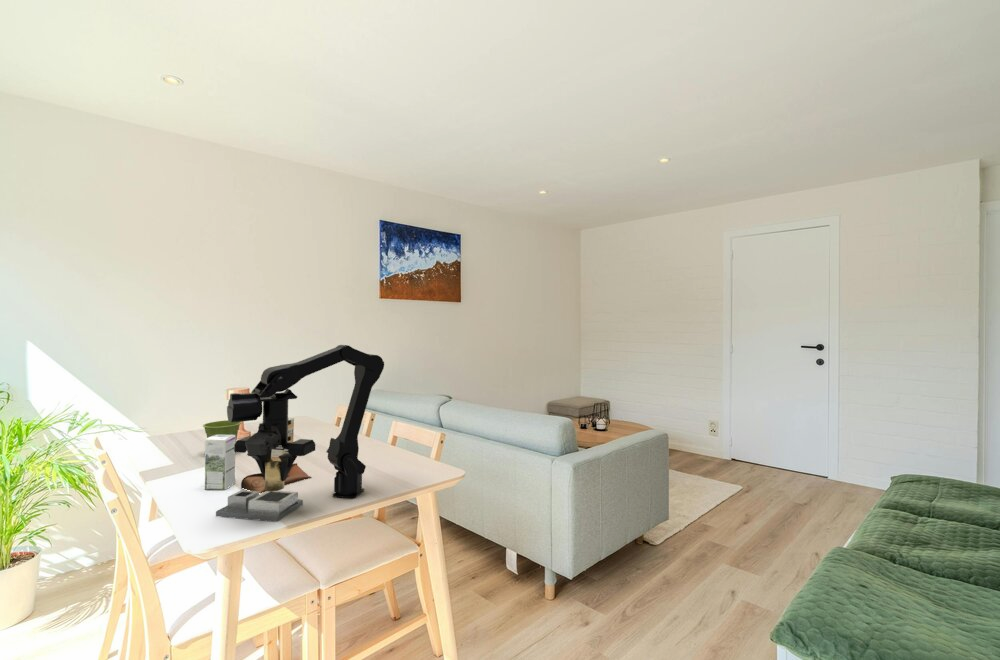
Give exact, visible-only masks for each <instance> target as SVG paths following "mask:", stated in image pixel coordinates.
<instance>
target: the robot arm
mask: <svg viewBox="0 0 1000 660" xmlns="http://www.w3.org/2000/svg"><path fill="white" fill-rule="evenodd" d="M341 362H346V363H347V364H349V365H352V366H354V372H353V374H354V375H353V376H354V387H353V390H352V393H351V397H350V400H349V403H348V405H347V406H348V407H347V411H346V414H345V417H344V420H343V423H342V427H341V430H340V433H339V434H338V436H337V437H336V438H333V437H330V440H329V447H328V448H327V449H326V453H327V460H328V461H329V463H330V464H331V465H333V467H334V469H335V470H336V473H335V477H334V479H333V482H334V483H333V492H334V493H333V494H332V497H334V498H344V499H345V498H347V499H355V498H357V497H358V496H359V495H360V493H361V492H362V493H363V492H364V491H365V488H363V475H364V473H365V470H366V468H367V466H366V465H365V463H363V462H362V461H361V460H360V459H359V457H358V456H359V449H360V448H359V433H360V430H361V427H362V422H363V419H364V416H365V413H366V409H367V406H368V403H369V399H370V395H371V392H372V389H373V387H374V386H375V384H376V383H377V382H378V380H379V379H380V377H381V375H382V373H383V371H384V367H385V361H384V360H383V358H382V357H381V356H380V355H378V354H370V353H366V352H364V351H360V350H358V349H356V348H353V347H352V346H350V345H348V344H347V345H346V344H339V345H337V346H335V347H333V348H330V349H328V350H326V351H324V352H323V351H322V352H320V353H318V354H316V355H313V356H310V357H307V358H305V359H303V360H300V361H297V362H292V363H287V364H280V365H275V366H269V367H267V368H266V369H264V370H263V372H262V374H261V376H260V381H259V382H258V383H257V384H256V386H255V387H253V389H252V390H251V392H247V393H246V392H245V393H237V392H235V393H230V394H229V399H228V402H227V403H228V404H227V406H226V414H227V415H226V416H227V419H228V421H229V423H234V422H249V421H256V420H258V418H260V417H261V416H262V422H261V423H259V424H258V430H257V432H254V434H252V435H249V436H245V437H243V438H240V439H238V440H236V443H235V445H234V452H235V453H243V454H244V453H246V452H247V453H246V454H247V457H251V458H253V459H254V461H255V462H256V464H257V466H258V468H259V470H260V473H262V476H263V479H264V480H265V461H266V460H268V459H271V452H272V449H273V450H284V454H283V455H281V456H279V458H280V460H281V480H282V481H285V480H286V478H287V475H288V473H289V471H290V469H291V467H292V465H293V464H295V461H296V460H297V458H298V457H304V456H306V455H308V454H310V453H313V452H314V451H316V442H315V440H313V439H305V438H300V439H296V440H294V441H293V442H292V443H289V442H288V441H290V440H291V436H288V425H290V424H291V420H288V418H289V400H297V398H298V395H296V394H295V393H294V392H293V391H292V390H291V389H290V388H291V387H293V386H294V385H296V384H297V383H299V382H300V381H301V380H302V379H304V378H305V377H307V376H309V375H312V374H314V373H317V372H319V371H321V370H324V369H327V368H329V367H331V366H334V365H336V364H339V363H341ZM357 495H358V496H357ZM356 496H357V497H356Z"/></svg>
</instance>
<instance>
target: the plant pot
mask: <svg viewBox="0 0 1000 660" xmlns="http://www.w3.org/2000/svg"><path fill="white" fill-rule="evenodd" d="M241 424H242V422H234V423H229V421H228V420H216V421H210V422H206V423H204V424H203V425H202V427H203V428H204V432H205V434H206V439H207V438H209V437H211V436H213V435H235V436H236V441H237V439H238V432H239V430H240V425H241Z"/></svg>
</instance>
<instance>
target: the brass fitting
mask: <svg viewBox="0 0 1000 660" xmlns="http://www.w3.org/2000/svg"><path fill="white" fill-rule="evenodd" d="M283 489H285V485H284V481H282V480H281V460H280V458H272V459H268V460H266V461H265V491H266V492H267V491H282V490H283Z"/></svg>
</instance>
